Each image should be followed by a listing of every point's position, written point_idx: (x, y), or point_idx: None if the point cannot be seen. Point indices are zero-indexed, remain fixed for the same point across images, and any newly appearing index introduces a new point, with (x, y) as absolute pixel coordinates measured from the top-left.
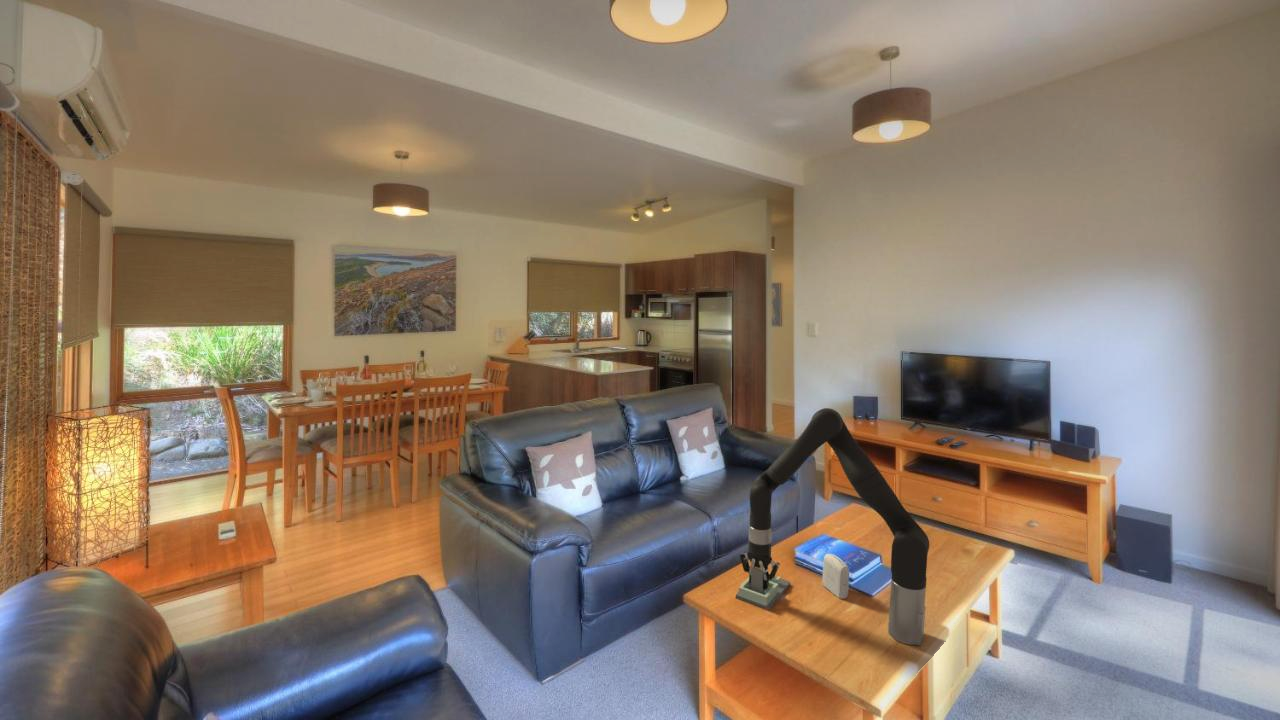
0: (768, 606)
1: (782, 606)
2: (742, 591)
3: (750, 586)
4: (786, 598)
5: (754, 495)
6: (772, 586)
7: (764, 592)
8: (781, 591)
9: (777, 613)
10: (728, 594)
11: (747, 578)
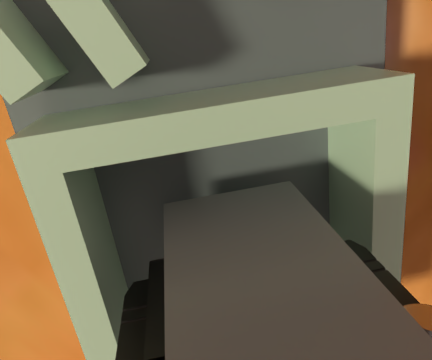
0: None
1: (421, 177)
2: None
3: (97, 185)
4: (417, 47)
5: None
6: (374, 178)
7: (255, 168)
8: (381, 25)
9: (416, 268)
10: (26, 342)
11: (47, 251)
